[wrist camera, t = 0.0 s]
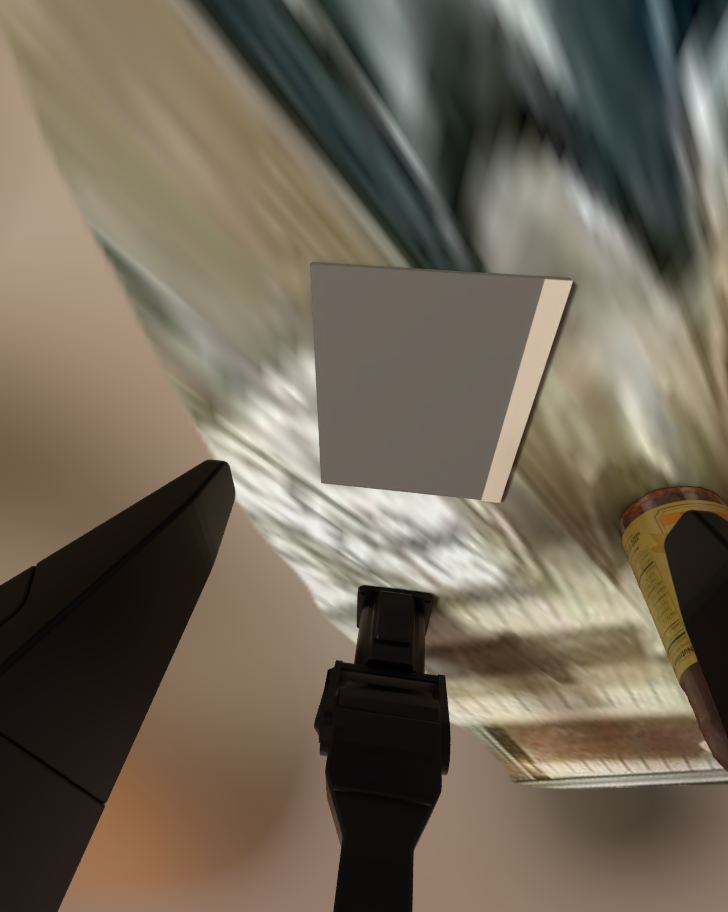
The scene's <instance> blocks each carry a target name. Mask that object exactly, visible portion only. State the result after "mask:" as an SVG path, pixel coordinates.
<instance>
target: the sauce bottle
mask: <svg viewBox="0 0 728 912" xmlns="http://www.w3.org/2000/svg"><path fill="white" fill-rule="evenodd" d="M688 510H702V511H710V512H714V513H716V514H718V515H720V516H721V517H723V518H724V519H726V520H727V521H728V505H727V504H726V503H725V502H724V501H723V500H721V499H720V498H719V497H718V496H716V495H715V494H714V493H712V492H711V491H709V490H704V489H702V488H699V487H696V488H695V487H674V488H663V489H657V490H654V491H652V492H649V493H647V494H646V495H645V496H644V497H643V498H641V499H639V500H637V501H636V502H634V503H633V504H631V505H630V506H629V507H628V508H627V509H626V511H625V512H624V513H623V515H622V517H621V521H620V536H621V540H622V544H623V548H624V550H625V553H626V555H627V558H628V560H629V563H630V565H631V568H632V570H633V572H634V575H635V577H636V580H637V582H638V585H639V587H640V589H641V592H642V594H643V596H644V599H645V601H646V604H647V606H648V608H649V611H650V613H651V616H652V618H653V620H654V623H655V625H656V628H657V630H658V633H659V635H660V638H661V640H662V643H663V645H664V647H665V650H666V652H667V655H668V657H669V660H670V662H671V665H672V667H673V669H674V672H675V674H676V677H677V679H678V682H679V684H680V686H681V688H682V689H683V691H684V692H685V693H686V695H687V697H688V700H689V703H690V705H691V707H692V709H693V711H694V713H695V716H696V718H697V722H698V724H699V728H700V730H701V732H702V733H703V736H704V738H705V741H706V743H707V744H708V746H709V748H710V750H711V752H712V755H713V757H714V758H715V759H716V760H717V761H718V763H719V764H720V765H721V766H722V767H723V768H724V769H725V770H726V771H727V772H728V740H727V737H726V734H725V732H724V729H723V727H722V724H721V721H720V719H719V716H718V713H717V711H716V708H715V706H714V703H713V700H712V698H711V695H710V692H709V690H708V687H707V684H706V682H705V679H704V677H703V674H702V671H701V669H700V666H699V663H698V661H697V658H696V655H695V653H694V650H693V648H692V645H691V642H690V640H689V637H688V634H687V631H686V629H685V626H684V623H683V619H682V616H681V613H680V609H679V605H678V601H677V597H676V593H675V590H674V586H673V582H672V578H671V574H670V570H669V566H668V562H667V558H666V555H665V551H664V541H665V538H666V536H667V534H668V533H669V532H670V530H671V529H672V528H673V526H674V525H675V524H676V522H677V521H678V520H679V518H680V517H681V515H682V514H683V513H684V512H686V511H688Z"/></svg>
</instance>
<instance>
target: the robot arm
mask: <svg viewBox="0 0 728 912" xmlns="http://www.w3.org/2000/svg"><path fill="white" fill-rule="evenodd" d="M234 500H235V487H234V483H233V479H232V474H231V470H230V466H229V464H228V463H227V462H225V461H219V460H206V461H204V462H202V463H201V464H199V465H197V466H196V467H194V468H192V469H191V470H189V471H187V472H186V473H184V474H183V475H181V476H179V477H178V478H176V479H174V480H173V481H171V482H169V483H168V484H166V485H165V486H163V487H161V488H160V489H158V490H156V491H155V492H153V493H151V494H150V495H148V496H147V497H145V498H143V499H142V500H140V501H138V502H137V503H135V504H133V505H132V506H130V507H129V508H127V509H125V510H124V511H122V512H120V513H119V514H117V515H115V516H114V517H112V518H110V519H109V520H107V521H106V522H104V523H102V524H101V525H99V526H97V527H96V528H94V529H93V530H91V531H89V532H88V533H86V534H84V535H83V536H81V537H79V538H78V539H76V540H74V541H73V542H71V543H69V544H68V545H66V546H65V547H63V548H61V549H60V550H58V551H56V552H55V553H53V554H51V555H50V556H48V557H47V558H45V559H43V560H42V561H40V562H39V563H37V565H36V566H32V567H30V568H28V569H27V570H25V571H23V572H22V573H20V574H18V575H17V576H15V577H13V578H12V579H10V580H9V581H7V582H5V583H4V584H2V585H0V912H58V909H59V907H60V905H61V903H62V901H63V898H64V896H65V894H66V892H67V890H68V887H69V885H70V883H71V881H72V878H73V876H74V874H75V872H76V870H77V867H78V865H79V863H80V861H81V858H82V856H83V854H84V852H85V850H86V848H87V845H88V843H89V841H90V839H91V836H92V834H93V832H94V830H95V828H96V825H97V823H98V821H99V819H100V816H101V814H102V812H103V810H104V808H105V804H104V803H106V802H107V800H108V798H109V796H110V794H111V791H112V789H113V787H114V785H115V782H116V780H117V778H118V776H119V774H120V772H121V769H122V767H123V765H124V763H125V760H126V758H127V756H128V754H129V751H130V749H131V747H132V745H133V743H134V740H135V738H136V736H137V734H138V732H139V729H140V727H141V725H142V723H143V721H144V718H145V716H146V714H147V712H148V710H149V707H150V705H151V703H152V701H153V698H154V696H155V694H156V692H157V690H158V687H159V685H160V683H161V681H162V678H163V676H164V674H165V672H166V670H167V667H168V665H169V663H170V661H171V658H172V656H173V654H174V652H175V650H176V648H177V645H178V643H179V641H180V639H181V636H182V634H183V632H184V630H185V628H186V625H187V623H188V621H189V619H190V616H191V614H192V612H193V610H194V608H195V606H196V603H197V601H198V599H199V597H200V594H201V592H202V590H203V588H204V585H205V583H206V581H207V579H208V577H209V574H210V572H211V570H212V567H213V565H214V562H215V559H216V556H217V553H218V550H219V547H220V544H221V541H222V538H223V535H224V532H225V529H226V525H227V522H228V519H229V516H230V513H231V510H232V507H233V503H234ZM664 551H665V555H666V558H667V562H668V566H669V570H670V574H671V578H672V582H673V586H674V590H675V593H676V597H677V601H678V605H679V609H680V613H681V616H682V619H683V623H684V626H685V629H686V631H687V634H688V637H689V640H690V642H691V645H692V648H693V650H694V653H695V655H696V658H697V661H698V663H699V666H700V669H701V671H702V674H703V677H704V679H705V682H706V684H707V687H708V690H709V692H710V695H711V698H712V700H713V703H714V706H715V708H716V711H717V713H718V716H719V719H720V721H721V724H722V727H723V729H724V732H725V734H726V737H727V740H728V521H727V520H726V519H724V518H723V517H721V516H720V515H718V514H716V513H714V512H710V511H702V510H688V511H686V512H684V513H683V514H682V515H681V517H680V518H679V520H678V521H677V522H676V524H675V525H674V526H673V528H672V529H671V530H670V532H669V533H668V534H667V536H666V538H665V541H664ZM433 602H434V601H433V596H432V595H430V594H424V593H416V592H408V591H400V590H391V589H383V588H375V587H367V586H360V587H359V588H358V599H357V627H358V628H359V632H358V639H357V647H356V654H355V661H354V664H351V663H343V661H338V660H336V662H335V667H334V668H332V669H329V670H328V672H327V678H326V682H325V687H324V692H323V695H322V699H321V702H320V705H319V709H318V712H317V715H316V718H315V724H314V728H315V730H316V732H317V733H318V735H319V743H320V755H322V756H327V762H326V770H325V775H326V791H327V800H328V803H329V806H330V810H331V813H332V817H333V820H334V824H335V827H336V831H337V834H338V838H339V841H340V845H341V855H340V863H339V871H338V879H337V887H336V895H335V903H334V912H412V899H413V855H414V854H413V853H414V850H415V847H416V846H417V843H418V841H419V839H420V837H421V835H422V833H423V831H424V829H425V827H426V825H427V823H428V821H429V819H430V817H431V814H432V812H433V810H434V807H435V805H436V803H437V801H438V798H439V796H440V793H441V788H442V775H447V773H448V769H449V761H450V721H449V711H448V701H447V690H446V680H445V675H439V674H438V676H437V675H430V674H425V635H426V632H427V628H428V623H429V619H430V615H431V611H432V607H433Z"/></svg>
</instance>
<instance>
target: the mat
mask: <svg viewBox="0 0 728 912" xmlns="http://www.w3.org/2000/svg"><path fill="white" fill-rule="evenodd" d="M310 272H311V291H312V311H313V330H314V350H315V369H316V388H317V408H318V427H319V447H320V466H321V483H326V484H335V485H345V486H354V487H364V488H373V489H383V490H392V491H402V492H411V493H421V494H430V495H440V496H449V497H459V498H468V499H478V500H481V501H487V502H496V503H500V501H501V498H502V495H503V492H504V489H505V486H506V483H507V480H508V477H509V474H510V471H511V468H512V465H513V462H514V459H515V456H516V453H517V450H518V447H519V444H520V441H521V438H522V435H523V431H524V428H525V425H526V422H527V419H528V416H529V413H530V410H531V407H532V404H533V401H534V398H535V395H536V392H537V389H538V386H539V383H540V380H541V377H542V374H543V371H544V368H545V365H546V362H547V359H548V356H549V353H550V350H551V347H552V343H553V340H554V337H555V334H556V331H557V328H558V325H559V322H560V319H561V316H562V313H563V310H564V307H565V304H566V301H567V298H568V295H569V292H570V289H571V286H572V283H573V281H572V280H571V279H570V278H561V277H545V276H529V275H512V274H496V273H480V272H464V271H448V270H432V269H415V268H399V267H383V266H367V265H351V264H335V263H318V262H312V263H311V264H310Z"/></svg>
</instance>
